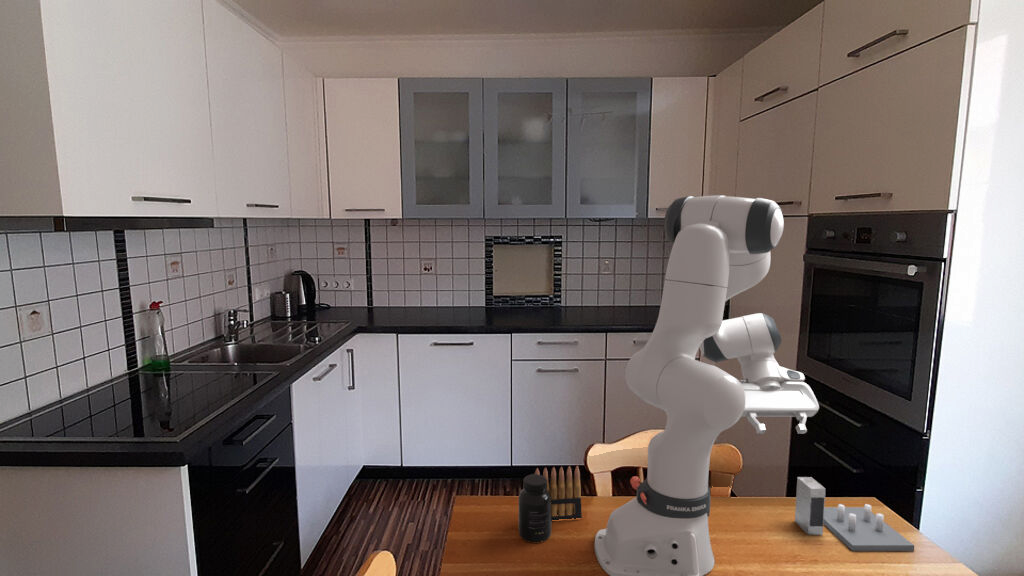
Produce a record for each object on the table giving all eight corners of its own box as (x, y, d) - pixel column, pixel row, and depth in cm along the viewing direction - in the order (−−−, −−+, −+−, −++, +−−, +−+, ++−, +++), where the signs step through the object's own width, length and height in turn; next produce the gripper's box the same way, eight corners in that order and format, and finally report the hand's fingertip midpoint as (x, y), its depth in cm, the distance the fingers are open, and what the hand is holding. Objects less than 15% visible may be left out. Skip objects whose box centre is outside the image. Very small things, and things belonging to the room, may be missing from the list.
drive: (808, 535, 105) (811, 489, 104) (794, 521, 110) (797, 477, 109) (823, 535, 105) (826, 489, 104) (808, 521, 110) (811, 477, 109)
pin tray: (852, 551, 100) (853, 529, 99) (811, 512, 114) (812, 493, 113) (913, 551, 100) (915, 529, 99) (865, 512, 114) (866, 493, 113)
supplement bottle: (514, 527, 108) (515, 473, 107) (545, 523, 110) (546, 469, 109) (523, 546, 102) (523, 489, 100) (555, 541, 103) (556, 485, 102)
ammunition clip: (579, 515, 113) (580, 463, 112) (581, 519, 111) (582, 467, 110) (532, 518, 112) (532, 466, 110) (533, 523, 110) (533, 470, 109)
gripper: (725, 373, 125) (741, 427, 116) (810, 373, 124) (832, 427, 116) (717, 385, 129) (732, 438, 121) (798, 385, 129) (819, 438, 121)
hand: (782, 432), depth 118 cm, fingers open, 8 cm apart
